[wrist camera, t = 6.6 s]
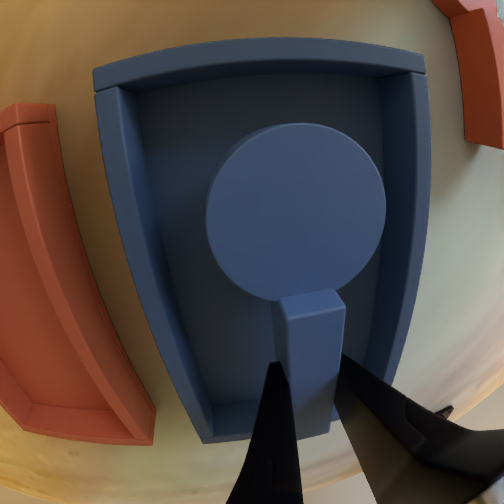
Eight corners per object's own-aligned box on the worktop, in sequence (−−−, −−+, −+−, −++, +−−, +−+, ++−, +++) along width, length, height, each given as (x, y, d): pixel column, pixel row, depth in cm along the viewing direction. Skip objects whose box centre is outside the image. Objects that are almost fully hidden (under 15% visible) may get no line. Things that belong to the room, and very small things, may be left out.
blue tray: (367, 373, 15) (385, 405, 12) (201, 406, 14) (202, 444, 12) (384, 64, 8) (424, 54, 6) (119, 81, 8) (91, 68, 5)
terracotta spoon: (497, 145, 10) (531, 154, 8) (443, 139, 10) (483, 146, 7) (465, -29, 6) (493, -37, 3) (402, -59, 5) (429, -76, 3)
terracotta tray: (156, 409, 14) (153, 446, 11) (34, 403, 13) (23, 430, 11) (55, 103, 7) (15, 101, 5) (-69, 176, 7) (-99, 190, 4)
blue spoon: (345, 382, 12) (364, 422, 10) (244, 404, 11) (251, 449, 9) (358, 121, 7) (407, 123, 5) (194, 134, 7) (186, 135, 5)
